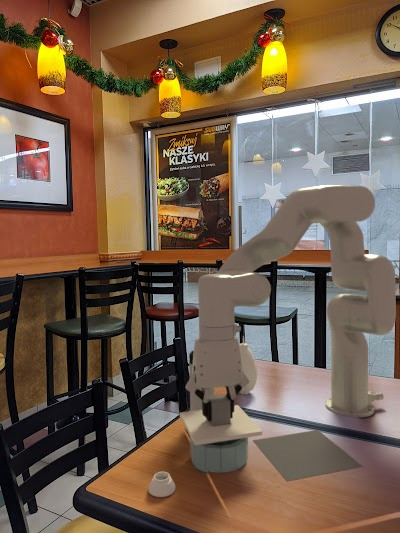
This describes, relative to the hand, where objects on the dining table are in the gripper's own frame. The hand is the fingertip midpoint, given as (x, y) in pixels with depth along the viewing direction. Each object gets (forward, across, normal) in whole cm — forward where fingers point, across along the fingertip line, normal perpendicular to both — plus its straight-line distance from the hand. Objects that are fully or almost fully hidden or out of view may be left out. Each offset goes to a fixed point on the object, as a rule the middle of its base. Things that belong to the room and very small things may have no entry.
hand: (218, 416), depth 88 cm
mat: (+9, -18, +4) cm, 21 cm away
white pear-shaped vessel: (+10, -19, -34) cm, 40 cm away
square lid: (+2, 0, 0) cm, 2 cm away
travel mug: (+10, -1, -16) cm, 19 cm away
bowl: (+9, 0, 0) cm, 9 cm away
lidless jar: (+10, +14, +7) cm, 18 cm away
